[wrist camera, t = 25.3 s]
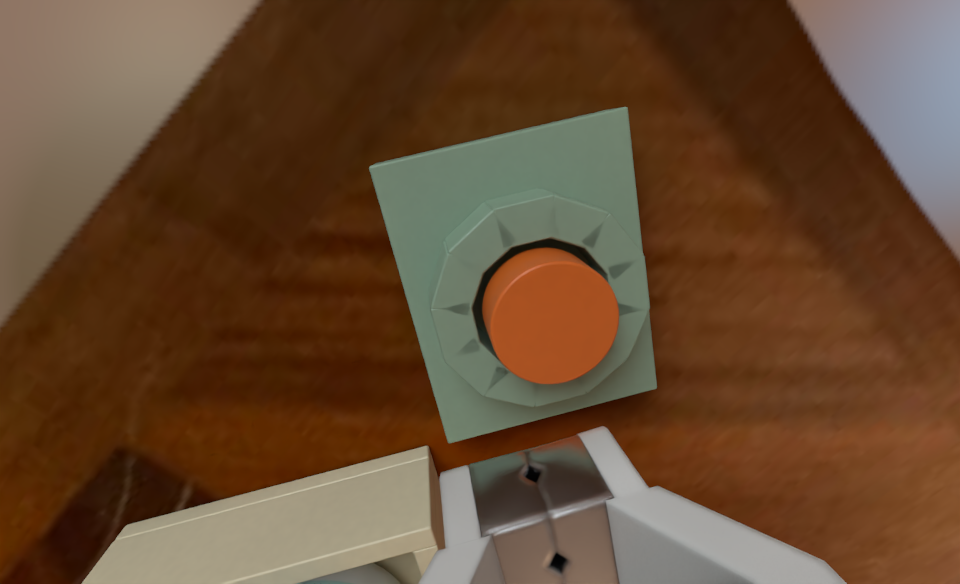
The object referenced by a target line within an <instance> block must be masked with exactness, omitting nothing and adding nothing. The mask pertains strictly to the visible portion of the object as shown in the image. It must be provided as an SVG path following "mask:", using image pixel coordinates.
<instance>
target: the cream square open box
mask: <svg viewBox="0 0 960 584" xmlns="http://www.w3.org/2000/svg"><path fill="white" fill-rule="evenodd" d="M445 548H446V547H445V536H444V525H443V513H442V502H441V490H440V482H439V479H438V475H437V472H436V469H435V466H434V462H433V459H432V456H431V453H430V449H429V447H428V446H423V447H419V448H416V449H412V450H408V451H404V452H401V453H397V454H393V455H389V456H385V457H382V458H378V459H374V460H370V461H366V462H363V463H359V464H355V465H351V466H348V467H344V468H340V469H336V470H332V471H329V472H325V473H321V474H317V475H313V476H310V477H306V478H302V479H298V480H295V481H291V482H287V483H283V484H279V485H276V486H272V487H268V488H264V489H261V490H257V491H253V492H249V493H245V494H242V495H238V496H234V497H230V498H226V499H223V500H219V501H215V502H211V503H208V504H204V505H200V506H196V507H192V508H189V509H185V510H181V511H177V512H173V513H170V514H166V515H162V516H158V517H155V518H151V519H147V520H143V521H139V522H136V523H132V524H128V525H126V526H125V527H124V529H123V530H122V531H121V532H120V534H119V535H118V536H117V538H116V539H115V541H114V542H113V543H112V544H111V545H110V547H109V548H108V549H107V551H106V552H105V553H104V555H103V556H102V557H101V559H100V560H99V561H98V563H97V564H96V565H95V566H94V568H93V569H92V570H91V572H90V573H89V574H88V576H87V577H86V578H85V580H84V581H83V582H82V584H297V583H301V582H304V581H308V580H312V579H315V578H319V577H322V576H326V575H330V574H333V573H337V572H341V571H344V570H348V569H352V568H355V567H359V566H362V565H366V564H370V563H374V564H376V565H378V566H380V567H382V568H383V569H385V570H386V571H388V572H389V573H390V574H391V575H393V576H394V577H395V578H396V579H397V580H398V582H399V583H400V584H418V583H419V581H420V579H421V578H422V576H423V574H424V572H425V571H426V569H427V567H428V565H429V563H430V562H431V560H432V558H433V556H434V555H435V553H436V551H438V550H442V549H445Z"/></svg>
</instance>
